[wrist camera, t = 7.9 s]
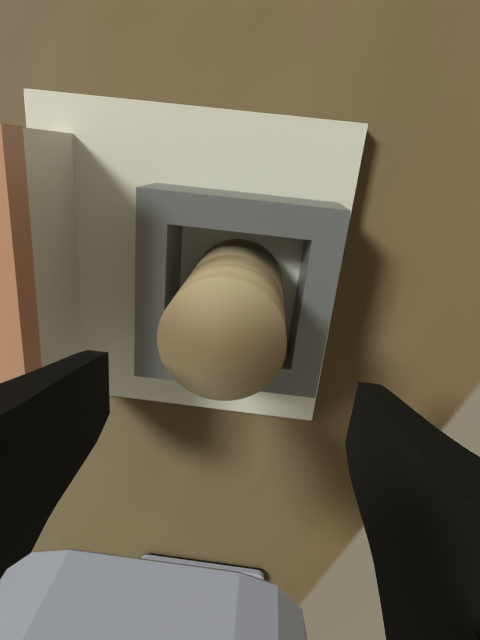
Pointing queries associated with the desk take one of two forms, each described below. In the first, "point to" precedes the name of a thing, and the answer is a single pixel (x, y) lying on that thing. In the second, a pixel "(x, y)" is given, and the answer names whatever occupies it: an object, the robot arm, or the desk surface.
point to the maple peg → (226, 323)
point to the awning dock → (165, 231)
